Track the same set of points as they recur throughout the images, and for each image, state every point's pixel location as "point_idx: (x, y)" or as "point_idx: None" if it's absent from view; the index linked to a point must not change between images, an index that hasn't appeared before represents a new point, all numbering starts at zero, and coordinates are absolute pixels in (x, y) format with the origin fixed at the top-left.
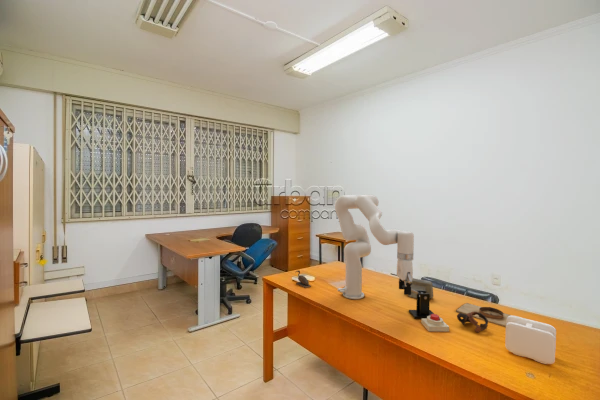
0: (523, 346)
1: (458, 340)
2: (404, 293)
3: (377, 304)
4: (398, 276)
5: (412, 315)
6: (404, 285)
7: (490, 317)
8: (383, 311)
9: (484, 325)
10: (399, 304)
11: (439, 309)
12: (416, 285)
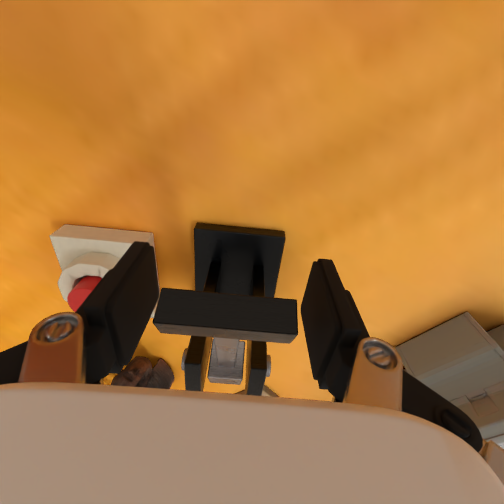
0: None
1: (20, 291)
2: (132, 246)
3: (461, 60)
4: (277, 426)
5: (227, 227)
6: (219, 329)
7: None
8: (321, 58)
9: None
10: (394, 226)
11: (290, 353)
12: (483, 394)
